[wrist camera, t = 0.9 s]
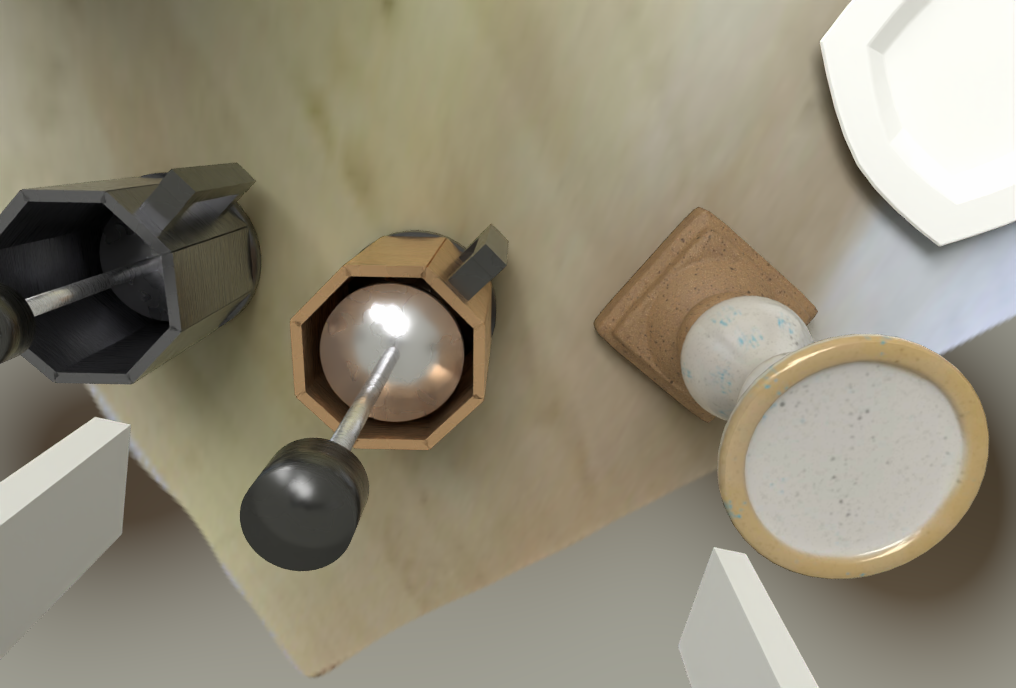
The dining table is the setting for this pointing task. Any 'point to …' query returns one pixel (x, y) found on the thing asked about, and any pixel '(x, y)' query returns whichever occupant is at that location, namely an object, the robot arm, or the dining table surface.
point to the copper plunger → (353, 420)
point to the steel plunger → (90, 288)
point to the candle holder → (802, 408)
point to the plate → (930, 108)
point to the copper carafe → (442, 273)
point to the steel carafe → (164, 227)
